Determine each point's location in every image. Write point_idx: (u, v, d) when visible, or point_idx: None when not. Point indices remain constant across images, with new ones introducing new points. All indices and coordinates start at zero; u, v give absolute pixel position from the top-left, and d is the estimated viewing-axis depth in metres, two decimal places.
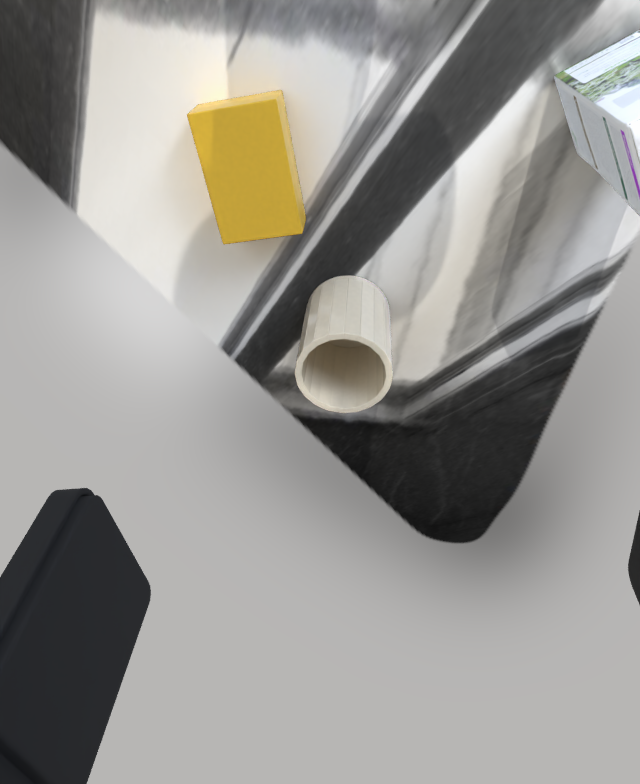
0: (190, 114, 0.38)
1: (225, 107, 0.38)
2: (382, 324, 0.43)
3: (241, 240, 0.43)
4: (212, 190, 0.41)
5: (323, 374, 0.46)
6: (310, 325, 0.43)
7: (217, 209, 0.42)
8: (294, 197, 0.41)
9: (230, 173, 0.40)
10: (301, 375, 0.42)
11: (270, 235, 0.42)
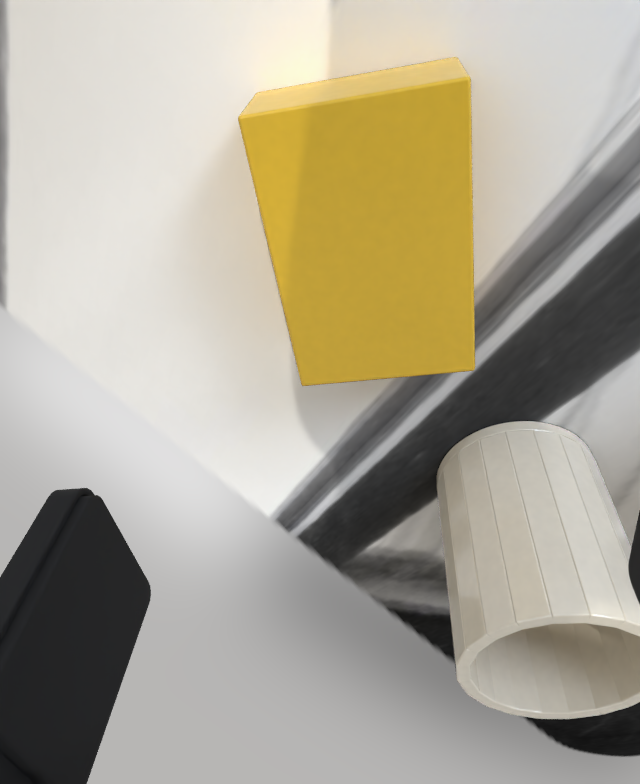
0: (247, 117, 0.15)
1: (335, 99, 0.15)
2: (630, 549, 0.21)
3: (341, 380, 0.20)
4: (287, 285, 0.18)
5: None
6: (482, 553, 0.21)
7: (295, 322, 0.19)
8: (471, 301, 0.18)
9: (332, 250, 0.17)
10: (469, 667, 0.20)
11: (404, 372, 0.20)
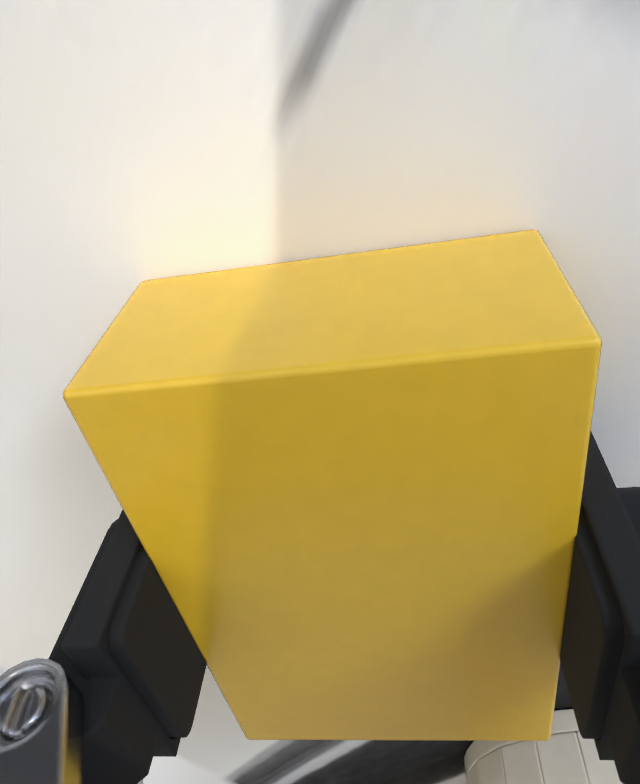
0: (80, 395, 0.07)
1: (278, 368, 0.06)
2: None
3: (314, 738, 0.12)
4: (206, 633, 0.10)
5: None
6: None
7: (227, 675, 0.10)
8: (556, 668, 0.10)
9: (286, 594, 0.09)
10: None
11: (423, 736, 0.11)
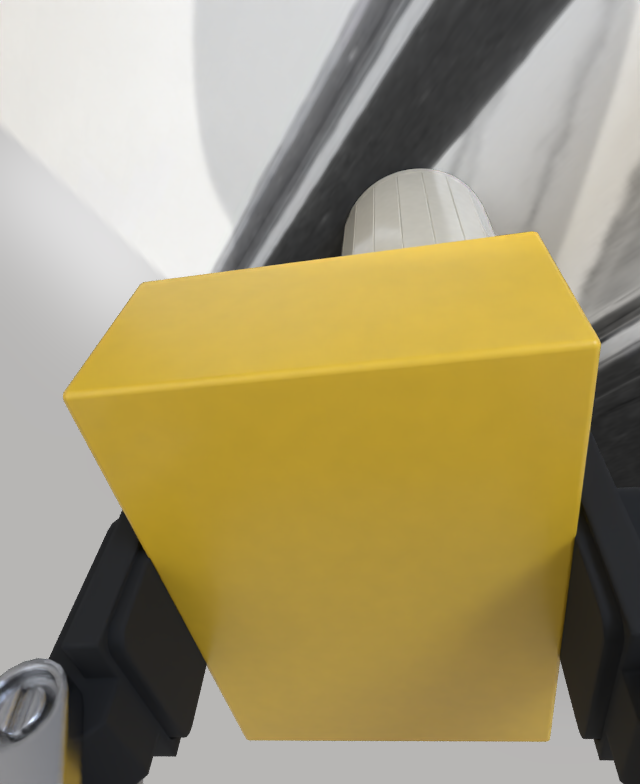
0: (80, 397, 0.07)
1: (277, 370, 0.06)
2: None
3: (314, 739, 0.12)
4: (206, 634, 0.10)
5: None
6: (359, 247, 0.23)
7: (227, 676, 0.10)
8: (555, 669, 0.10)
9: (286, 595, 0.09)
10: None
11: (423, 737, 0.11)
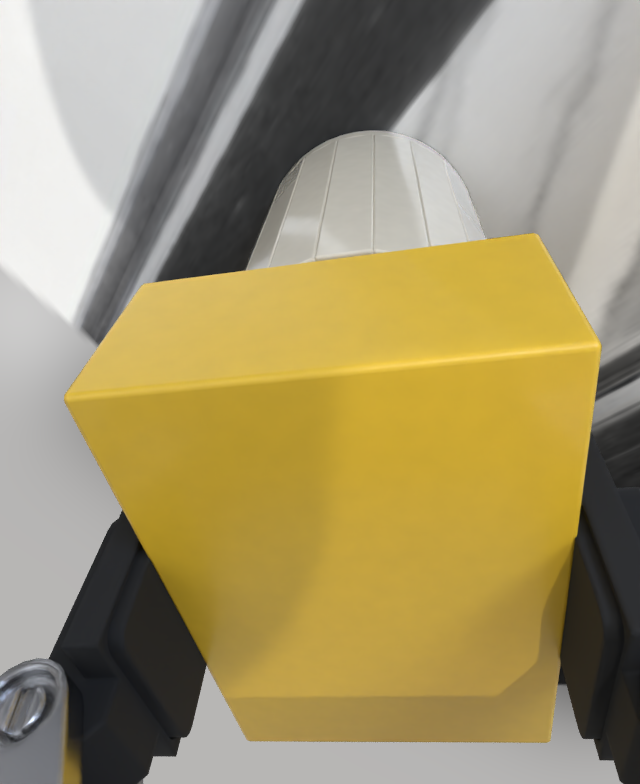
0: (81, 399, 0.07)
1: (278, 372, 0.06)
2: None
3: (314, 740, 0.12)
4: (207, 635, 0.10)
5: None
6: (261, 245, 0.14)
7: (227, 677, 0.10)
8: (556, 670, 0.10)
9: (286, 596, 0.09)
10: None
11: (423, 738, 0.11)
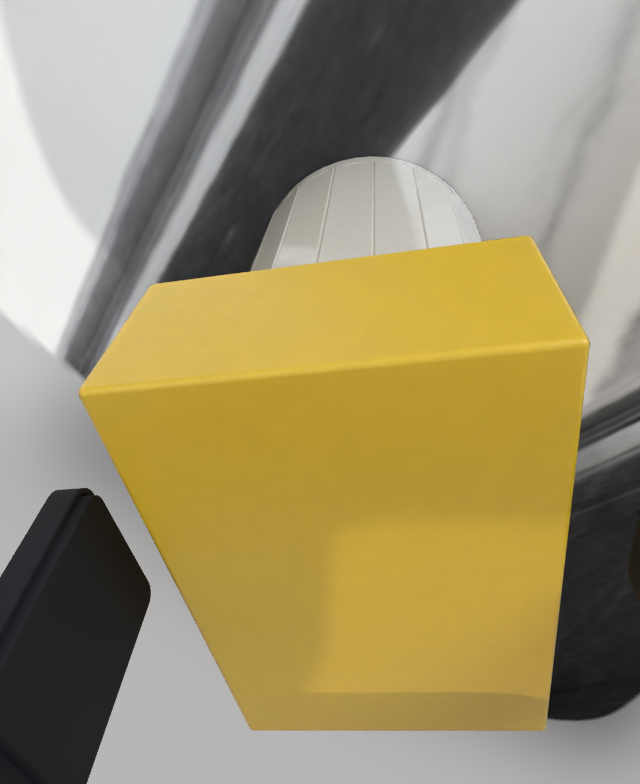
0: (95, 393, 0.07)
1: (283, 367, 0.07)
2: None
3: (316, 729, 0.12)
4: (212, 624, 0.10)
5: None
6: None
7: (232, 665, 0.11)
8: (550, 658, 0.10)
9: (290, 586, 0.09)
10: None
11: (422, 726, 0.12)
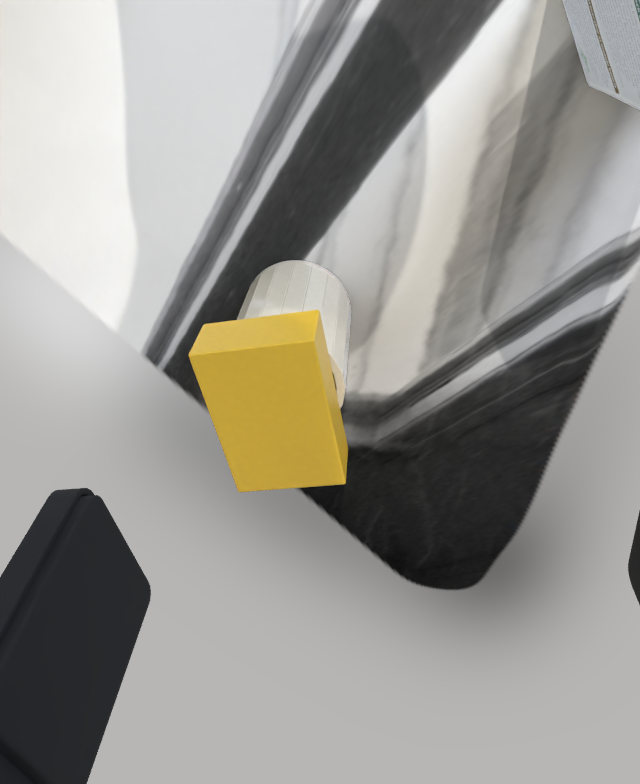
0: (193, 355, 0.27)
1: (242, 347, 0.27)
2: (333, 320, 0.33)
3: (263, 489, 0.32)
4: (224, 437, 0.30)
5: None
6: None
7: (230, 456, 0.31)
8: (336, 446, 0.30)
9: (248, 419, 0.29)
10: None
11: (301, 484, 0.31)
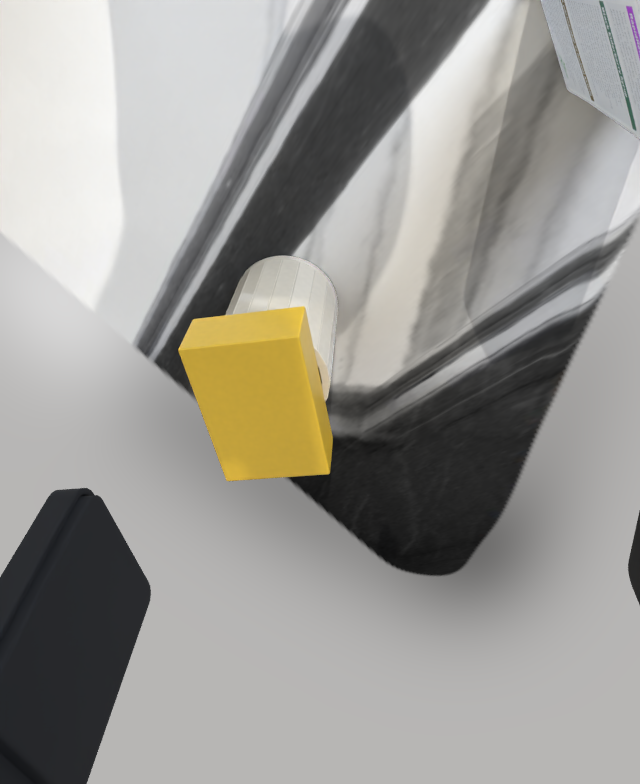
0: (182, 350, 0.28)
1: (229, 343, 0.28)
2: (319, 315, 0.34)
3: (250, 478, 0.33)
4: (212, 428, 0.31)
5: None
6: None
7: (219, 447, 0.32)
8: (320, 438, 0.31)
9: (236, 411, 0.30)
10: None
11: (287, 474, 0.33)
